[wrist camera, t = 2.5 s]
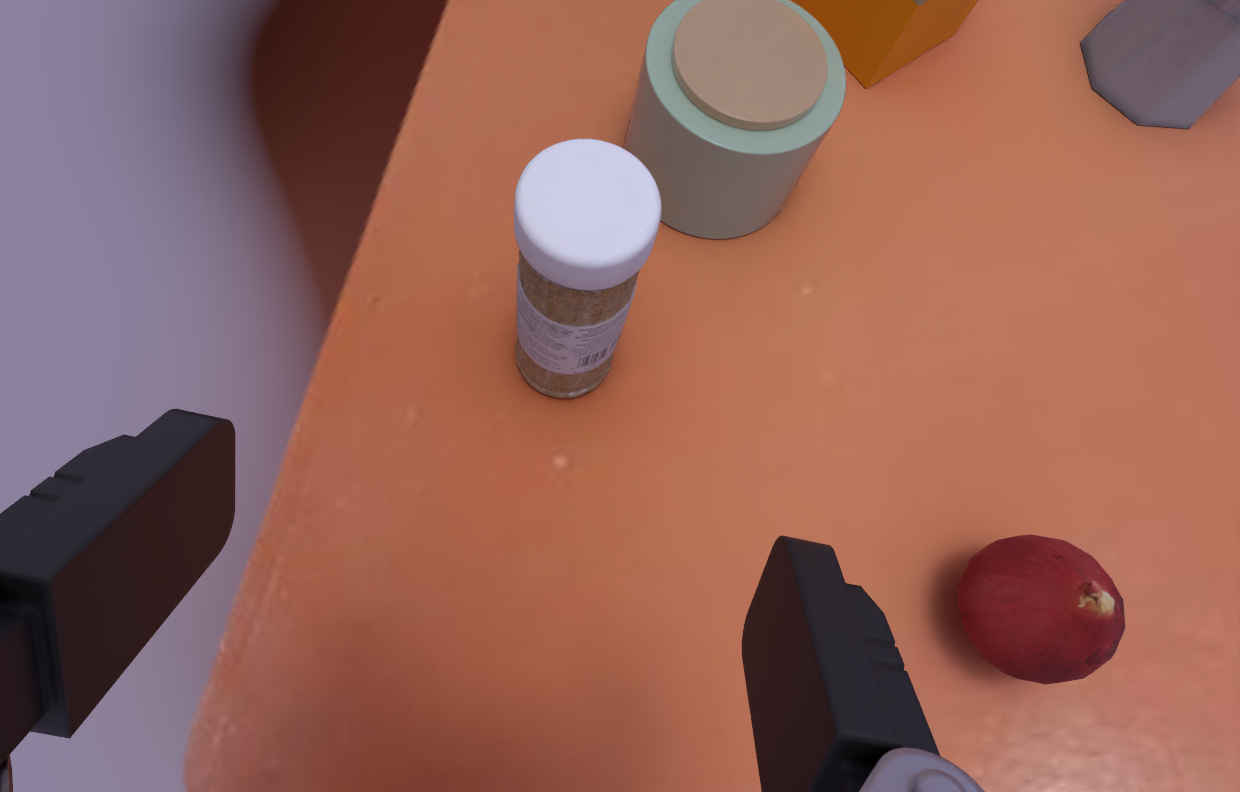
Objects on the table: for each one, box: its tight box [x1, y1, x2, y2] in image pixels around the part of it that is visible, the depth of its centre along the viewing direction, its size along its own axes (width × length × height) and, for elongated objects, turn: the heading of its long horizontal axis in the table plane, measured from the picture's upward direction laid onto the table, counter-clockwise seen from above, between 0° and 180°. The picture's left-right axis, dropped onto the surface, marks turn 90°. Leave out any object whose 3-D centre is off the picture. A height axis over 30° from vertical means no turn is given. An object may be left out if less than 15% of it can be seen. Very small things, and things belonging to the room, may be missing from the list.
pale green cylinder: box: [623, 0, 846, 239], centre depth 37 cm, size 9×9×8 cm
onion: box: [958, 535, 1125, 684], centre depth 31 cm, size 6×6×8 cm
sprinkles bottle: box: [514, 139, 661, 398], centre depth 30 cm, size 5×5×13 cm
